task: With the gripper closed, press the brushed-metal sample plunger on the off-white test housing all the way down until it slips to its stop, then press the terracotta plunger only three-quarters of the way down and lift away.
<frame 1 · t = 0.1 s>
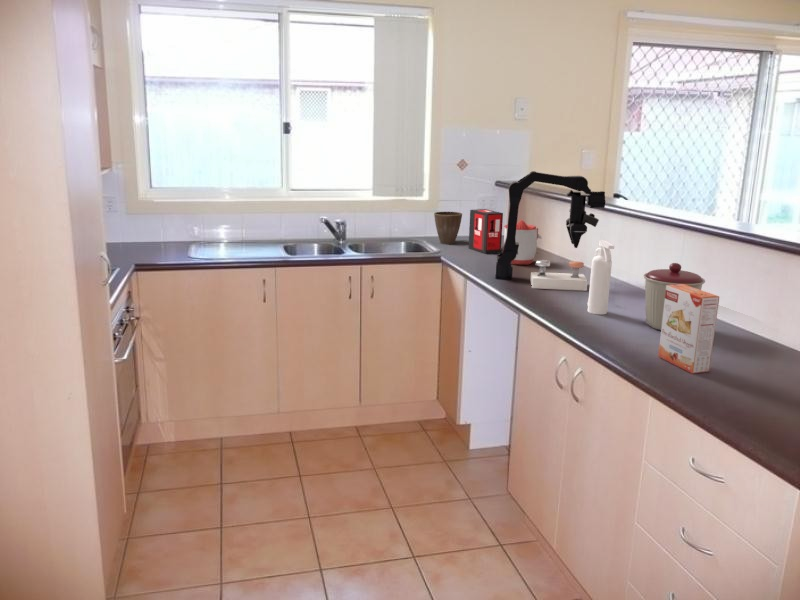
hand: (574, 245, 279), 15 cm above the worktop, fingers open, 9 cm apart
test housing: (557, 285, 273), on the worktop
plant pot: (447, 243, 368), on the worktop
canister: (667, 328, 219), on the worktop
cracker box: (682, 365, 185), on the worktop
citrus juicer: (520, 263, 318), on the worktop
cleaning product box: (484, 251, 347), on the worktop
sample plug: (542, 267, 272), point 7 cm above the worktop, slide at 0.0 cm
terracotta plug: (575, 269, 271), point 7 cm above the worktop, slide at 0.0 cm
white spray bottle: (596, 312, 237), on the worktop
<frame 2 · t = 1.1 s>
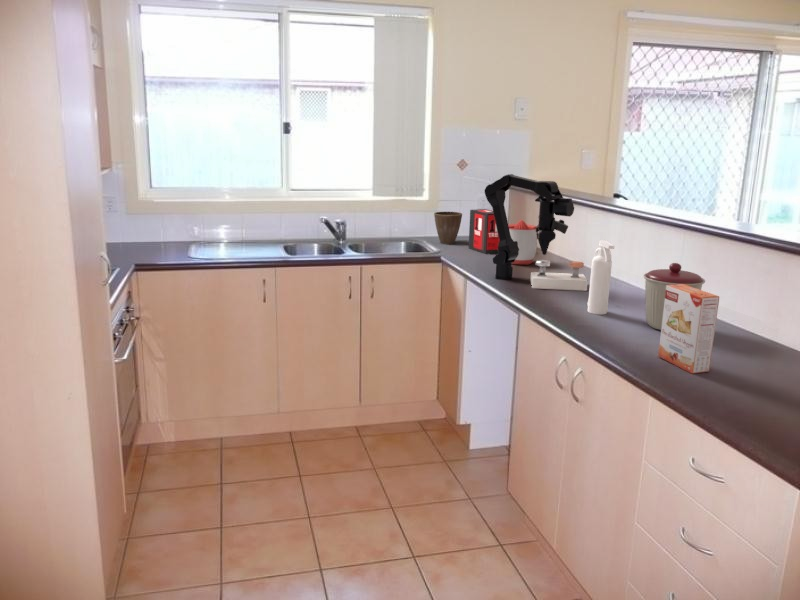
hand: (543, 253, 271), 13 cm above the worktop, fingers open, 6 cm apart
nothing on the worktop moved.
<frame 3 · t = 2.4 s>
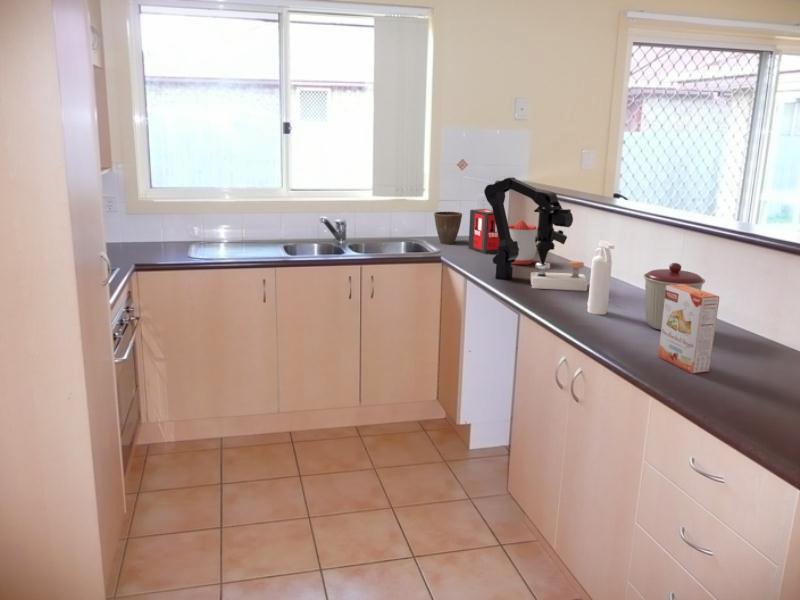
hand: (542, 263, 272), 9 cm above the worktop, fingers closed, pressing on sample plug
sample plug: (542, 270, 273), point 6 cm above the worktop, slide at 1.0 cm, touching gripper
everything else where it was.
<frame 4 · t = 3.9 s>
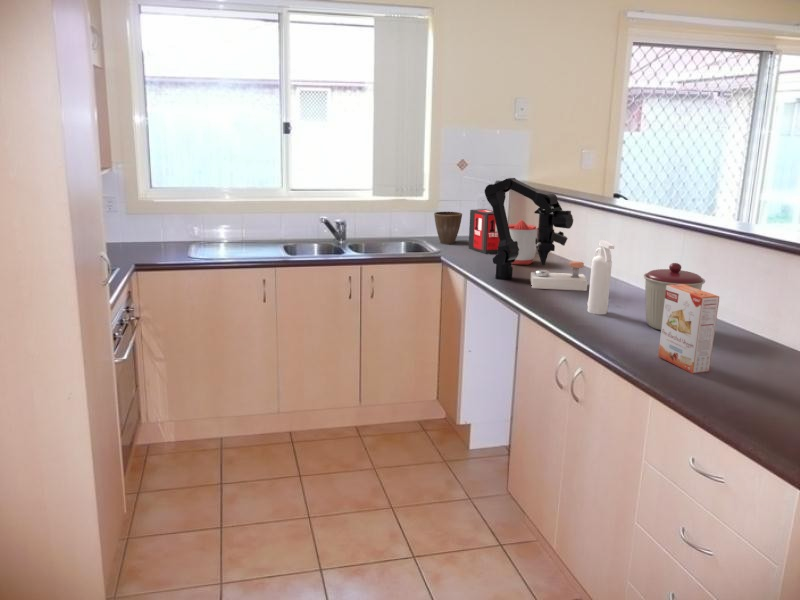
hand: (543, 264, 272), 8 cm above the worktop, fingers closed
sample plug: (541, 277, 273), point 3 cm above the worktop, slide at 4.1 cm
everything else where it was.
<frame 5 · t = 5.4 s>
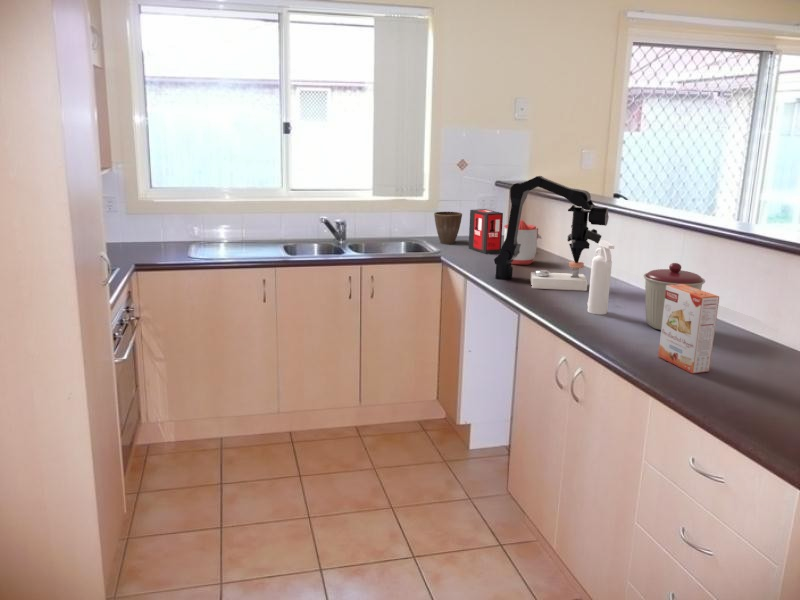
hand: (576, 262, 270), 10 cm above the worktop, fingers closed, pressing on terracotta plug
terracotta plug: (575, 269, 271), point 7 cm above the worktop, slide at 0.1 cm, touching gripper
everything else where it was.
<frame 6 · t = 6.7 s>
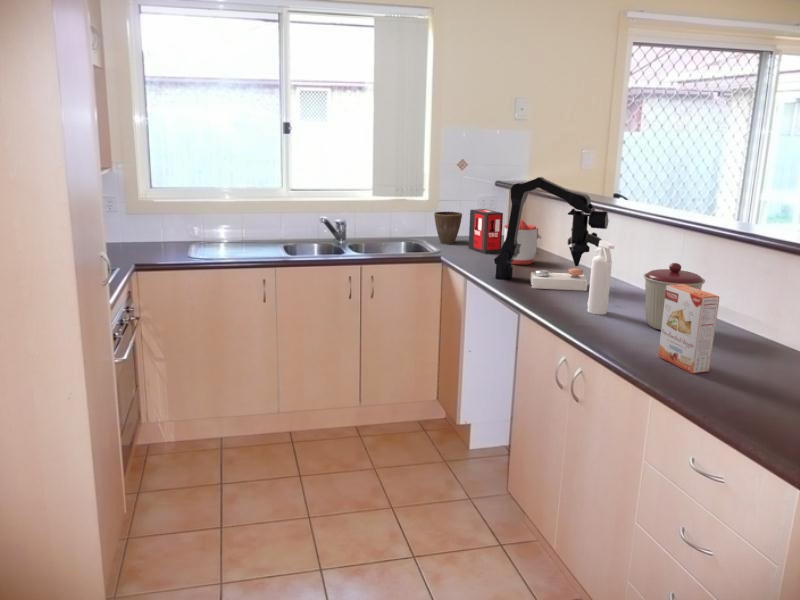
hand: (576, 266, 271), 8 cm above the worktop, fingers closed
terracotta plug: (575, 276, 272), point 4 cm above the worktop, slide at 3.0 cm
everything else where it was.
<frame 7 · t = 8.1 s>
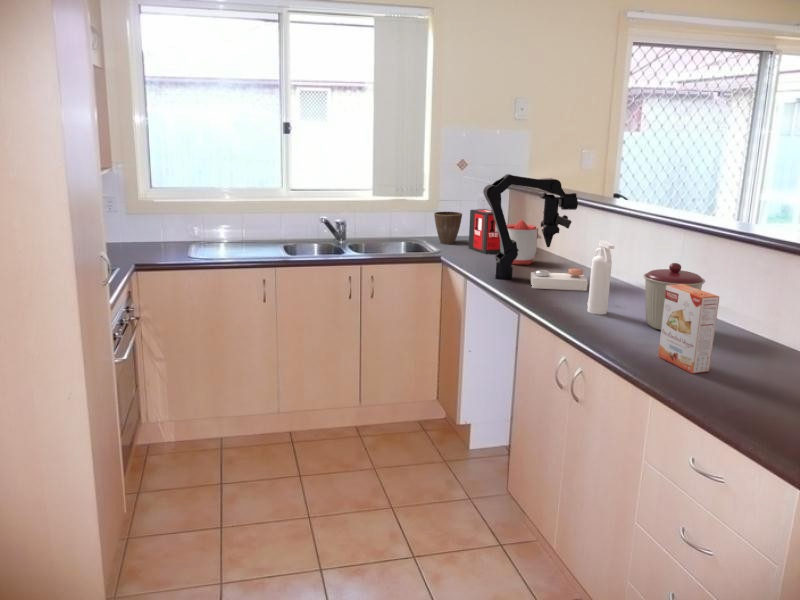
hand: (548, 247, 285), 13 cm above the worktop, fingers closed
nothing on the worktop moved.
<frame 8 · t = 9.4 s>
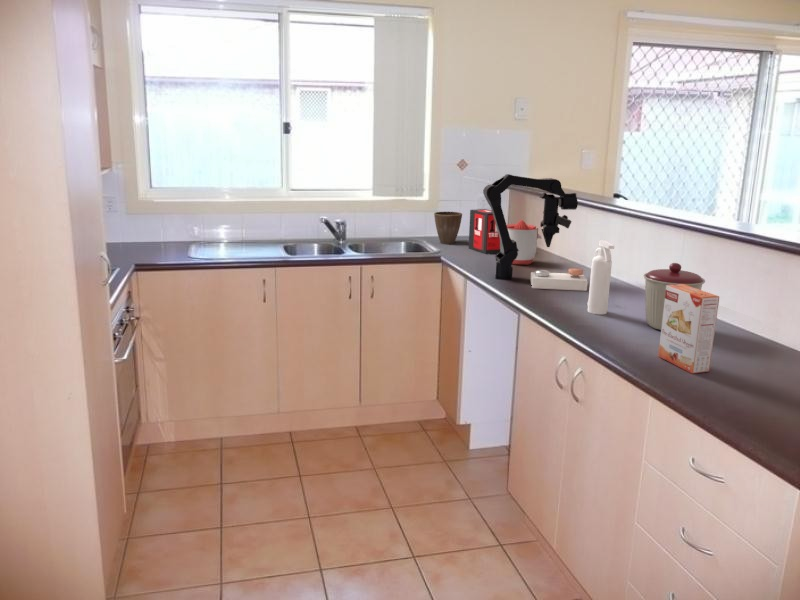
hand: (548, 247, 285), 13 cm above the worktop, fingers closed
nothing on the worktop moved.
at the end: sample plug slide at 4.1 cm; terracotta plug slide at 3.0 cm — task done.
